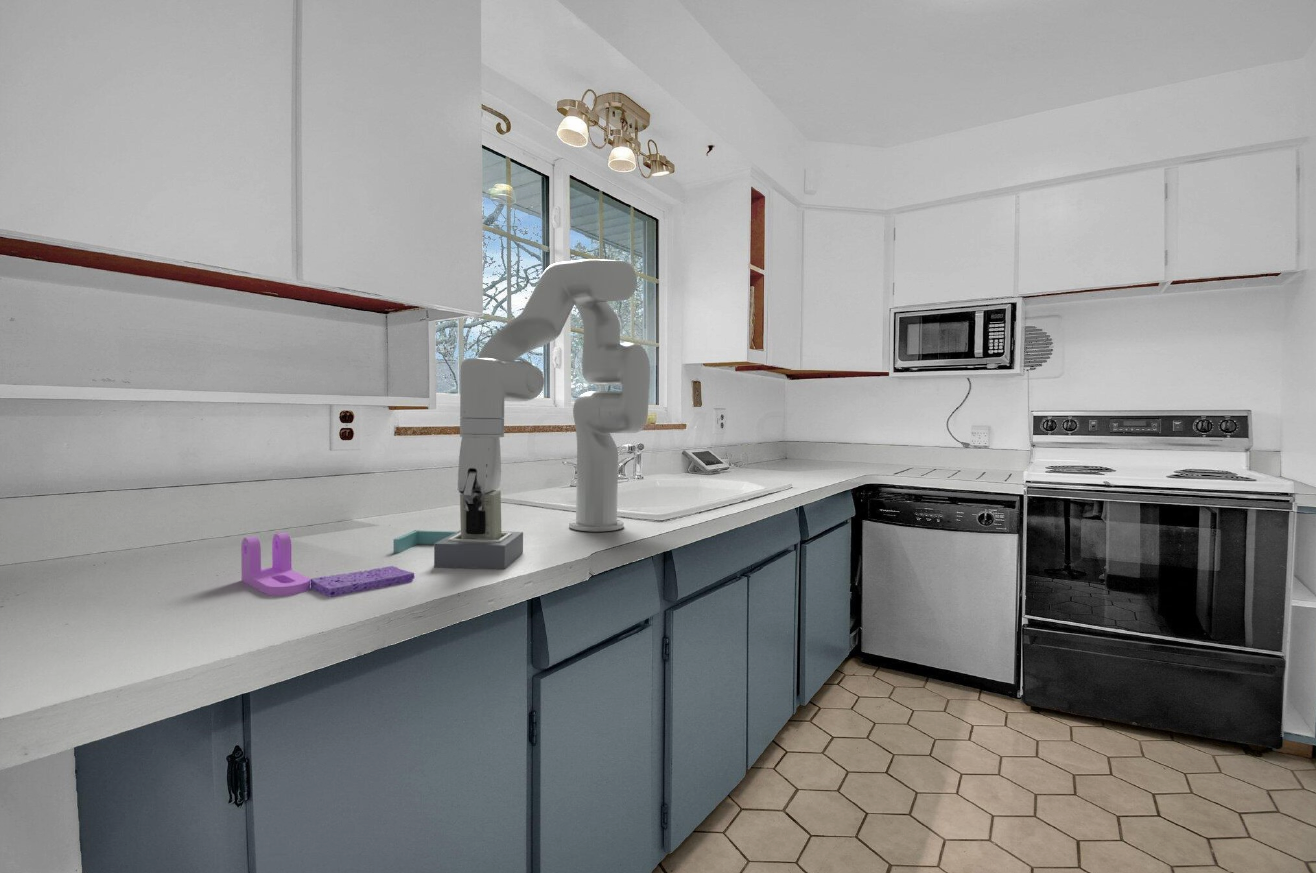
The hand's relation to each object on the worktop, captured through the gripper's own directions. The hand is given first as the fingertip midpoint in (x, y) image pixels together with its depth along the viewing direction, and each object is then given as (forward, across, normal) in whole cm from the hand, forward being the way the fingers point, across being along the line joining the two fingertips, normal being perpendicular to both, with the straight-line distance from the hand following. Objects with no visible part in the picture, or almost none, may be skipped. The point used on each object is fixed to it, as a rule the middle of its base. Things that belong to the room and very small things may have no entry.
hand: (481, 529), depth 108 cm
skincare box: (+6, 0, 0) cm, 6 cm away
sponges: (+6, +17, -12) cm, 22 cm away
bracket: (+6, +19, -24) cm, 31 cm away
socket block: (+5, 0, 0) cm, 5 cm away
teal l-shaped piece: (+5, -8, -12) cm, 15 cm away
